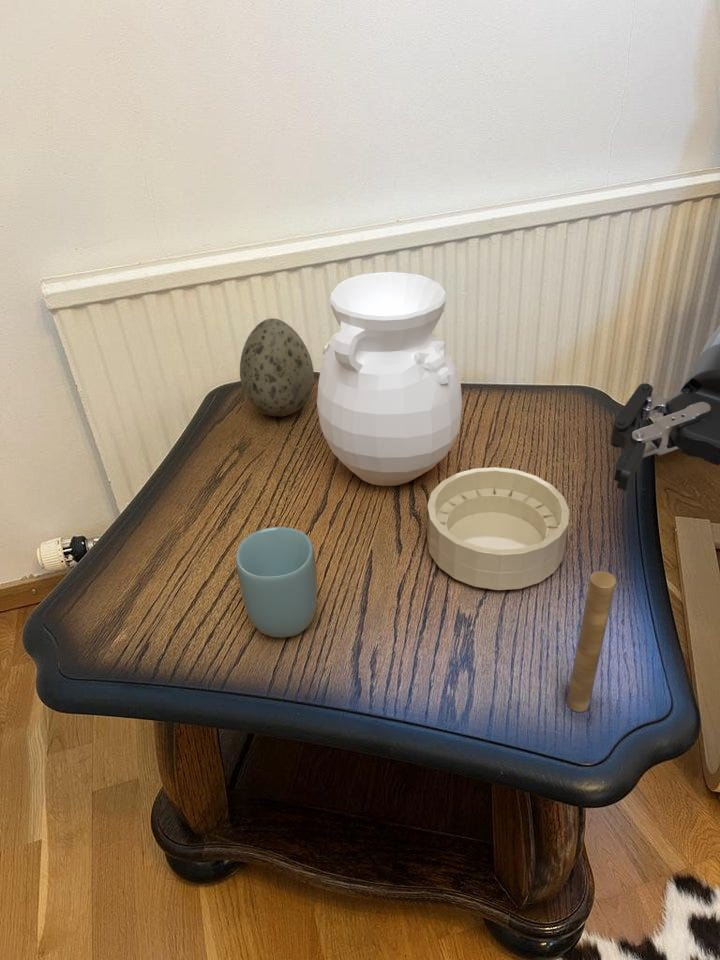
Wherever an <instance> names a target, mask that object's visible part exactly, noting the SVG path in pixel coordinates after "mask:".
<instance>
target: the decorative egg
mask: <svg viewBox="0 0 720 960" xmlns="http://www.w3.org/2000/svg"><path fill="white" fill-rule="evenodd" d="M241 351H242V352H241V356H240V361H239V379H240V384H241V387H242V390H243V393H244V395H245V396H246V398H247V400H248V402H250V403H251V405H252V406H253V407H254V408H255V409H257V410H258V411H259V412H261V413H262V414H265V415H268V416H271V417H279V418H280V417H287V416H289V415H293V414H294V413H296V412H298V411H299V410H300V409H301V408H302V407H304V405H305V404H306V403H307V401H308V400H309V398H310V396H311V394H312V390H313V386H314V383H315V381H314V380H315V373H314V372H315V371H314V365H313V361H312V358H311V354H310V352H309V350H308V348H307V346H306V344H305V342H304V340H303V339H302V338H301V336H300V335H299V334H298V332H296V330H295V329H294V328H293V327H292V326H291V325H289V324H288V323H287V322H285V321H283V320H281V319H279V318H273V317H271V318H266V319H264V320H262V321H260V322H259V323H258V324H257V325H256V326H255V327H254V328H253V329H252V330H251V332H250V333H249V335H248V337H247V338H246V341H245V343H244V345H243V348H242V350H241Z"/></svg>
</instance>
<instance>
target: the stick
mask: <svg viewBox="0 0 720 960" xmlns="http://www.w3.org/2000/svg"><path fill="white" fill-rule="evenodd" d="M616 583H617V580H616V577H615V575H613V574H612V573H611V572H609V571H605V570H597V571H594V572H592V573H591V574H590V577H589V582H588V587H587V592H586V598H585V602H584V608H583V614H582V619H581V624H580V629H579V634H578V640H577V644H576V645H577V646H576V649H575V650H576V651H575V654H574V655H575V657H574V661H573V662H574V663H573V666H572V672H571V677H570V682H569V688H568V694H567V699H566V703H567V706H568V708H569V709H570V710H571V711H572V712H573V711H574V712H576V713H584V712H586V711H588V709H589V708H590V703H591V699H592V694H593V689H594V684H595V680H596V675H597V671H598V667H599V661H600V657H601V653H602V648H603V643H604V639H605V633H606V628H607V624H608V620H609V615H610V610H611V608H612V607H611V606H612V601H613V597H614V592H615V587H616Z"/></svg>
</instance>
